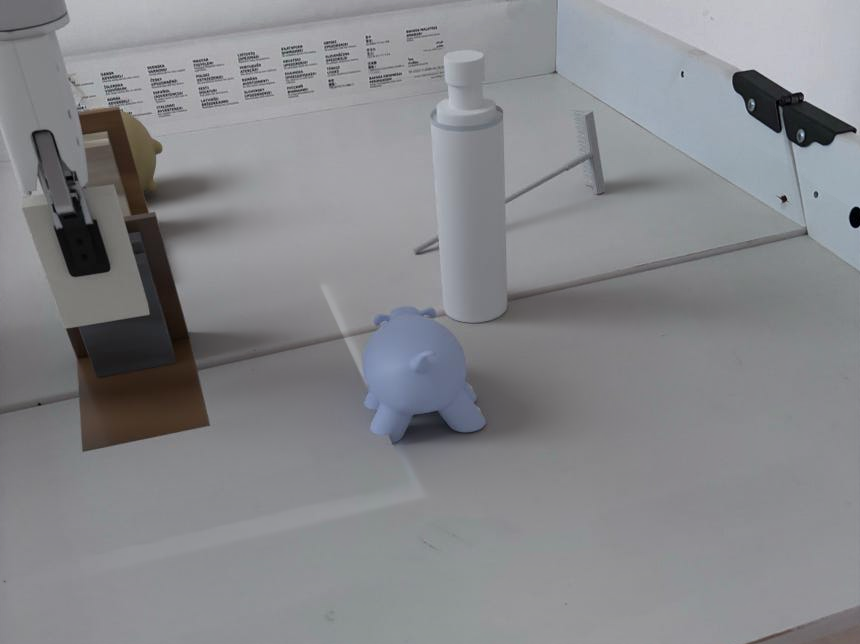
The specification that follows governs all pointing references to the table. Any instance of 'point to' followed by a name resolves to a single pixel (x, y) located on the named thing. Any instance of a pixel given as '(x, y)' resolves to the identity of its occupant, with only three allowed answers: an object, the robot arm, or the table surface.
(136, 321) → the stand
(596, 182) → the grey toy rake
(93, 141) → the wooden bookshelf
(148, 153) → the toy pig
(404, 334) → the hippopotamus toy
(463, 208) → the spray bottle
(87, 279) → the white book
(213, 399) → the table surface
